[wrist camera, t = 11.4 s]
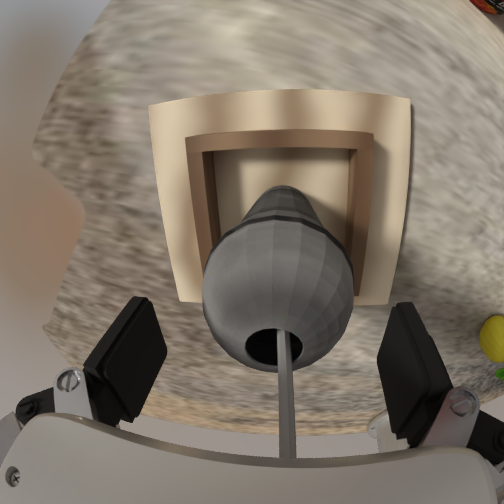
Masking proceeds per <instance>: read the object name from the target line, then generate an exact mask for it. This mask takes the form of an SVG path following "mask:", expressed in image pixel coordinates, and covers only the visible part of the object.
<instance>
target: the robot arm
mask: <svg viewBox="0 0 504 504" xmlns="http://www.w3.org/2000/svg"><path fill="white" fill-rule="evenodd" d="M166 356H167V347H166V344H165V341H164V338H163V335H162V332H161V329H160V326H159V323H158V320H157V317H156V314H155V311H154V307H153V304H152V302H151V301H149V300H148V298H146V297H137V296H134V297H132V298H131V300H130V301H129V302H128V303H127V305H126V306H125V307H124V309H123V310H122V311H121V313H120V314H119V315H118V317H117V318H116V319H115V321H114V322H113V323H112V325H111V326H110V327H109V329H108V330H107V331H106V333H105V334H104V336H103V337H102V338H101V340H100V341H99V343H98V344H97V345H96V347H95V348H94V350H93V351H92V352H91V354H90V355H89V357H88V358H87V360H86V361H85V363H84V364H83V366H84V369H83V370H81V369H79V368H77V367H68V368H66V369H63V370H62V371H60V372H59V373H58V374H57V376H56V377H55V380H54V384H53V387H52V388H49V389H46V390H43V391H41V392H38V393H35V394H32V395H30V396H27V397H25V398H23V399H22V400H21V401H20V402H19V403H18V405H17V407H16V413H14V412H11V413H10V414H8V415H7V416H5V417H4V418H3V419H1V420H0V504H504V422H502V421H500V420H498V419H496V418H494V417H492V416H491V415H489V414H487V413H485V412H483V411H481V410H479V408H480V401H479V398H478V396H477V394H476V393H475V392H474V391H473V390H471V389H470V388H467V387H464V386H458V387H455V388H453V385H452V383H451V380H450V378H449V375H448V373H447V370H446V368H445V366H444V363H443V361H442V359H441V356H440V354H439V352H438V350H437V347H436V345H435V343H434V341H433V339H432V337H431V336H430V335H429V334H428V332H427V330H426V328H425V326H424V324H423V322H422V320H421V318H420V316H419V314H418V312H417V310H416V308H415V306H414V304H413V303H412V302H401V303H397V305H396V307H393V308H392V310H391V313H390V317H389V320H388V324H387V327H386V330H385V334H384V337H383V340H382V343H381V346H380V349H379V352H378V355H377V366H378V370H379V374H380V378H381V383H382V387H383V392H384V396H385V401H386V406H387V411H385V412H383V413H381V414H379V415H378V416H377V417H375V418H374V419H373V420H372V421H371V422H370V423H369V425H368V427H367V430H368V434H369V435H370V436H371V437H373V438H377V441H378V449H379V453H377V454H368V455H358V456H348V457H332V458H272V457H257V456H246V455H237V454H228V453H221V452H214V451H208V450H202V449H197V448H191V447H186V446H181V445H177V444H172V443H168V442H164V441H160V440H156V439H152V438H148V437H145V436H141V435H138V434H135V433H131V432H128V431H125V430H121V429H120V426H119V421H120V420H124V421H127V422H130V423H133V420H134V418H135V417H138V416H139V414H140V412H141V410H142V408H143V405H144V403H145V401H146V399H147V397H148V394H149V392H150V390H151V388H152V386H153V384H154V381H155V379H156V377H157V375H158V373H159V371H160V369H161V366H162V364H163V362H164V360H165V358H166Z"/></svg>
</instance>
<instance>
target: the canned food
mask: <svg viewBox="0 0 504 504" xmlns="http://www.w3.org/2000/svg"><path fill="white" fill-rule="evenodd" d="M470 1H471V2H472V3H474V4H475V5H476V6H477V7H479V8H480V9H482V10H483V11H485V12H487V13H490V14H496V15H501V14H504V0H470Z"/></svg>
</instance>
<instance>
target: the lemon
mask: <svg viewBox="0 0 504 504" xmlns="http://www.w3.org/2000/svg"><path fill="white" fill-rule="evenodd" d="M479 344H480V347H481V349H482V351H483V352H484V354H485V355H486V356H487V357H488V358H489V359H490V360H491V361H493V362H497V363H502V362H504V316H500V315H496V316H493V317H491V318H490V319H487V320H486V322H485V323H484V325H483V326H482V328H481V330H480V333H479ZM496 377H498V378H499V379H501V380H504V368H501V369H499V370H497V371H496Z"/></svg>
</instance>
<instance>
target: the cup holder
mask: <svg viewBox="0 0 504 504" xmlns="http://www.w3.org/2000/svg"><path fill="white" fill-rule="evenodd" d="M148 107H149V119H150V130H151V139H152V148H153V156H154V164H155V172H156V179H157V186H158V192H159V199H160V205H161V211H162V217H163V223H164V228H165V234H166V239H167V244H168V249H169V254H170V259H171V264H172V268H173V273H174V278H175V282H176V286H177V291H178V295H179V299H180V301H183V302H199V303H203V301H202V283H203V279H204V268H205V265H206V262H207V259H208V257H209V254H210V251H211V249H212V248H213V247H214V245H215V244H216V243H217V242H218V241H219V240H220V239H221V237H222V236H223V235H224V234H225V233H226V232H227V231H229V230H231V229H233V228H234V227H235V226H236V225H238V224H239V223H240V222H241V221H242V220H243V218H244V217H245V215H246V214H247V213H248V211H249V210H250V209H251V207H252V206H253V205H254V203H255V202H256V201H257V199H258V198H259V197H260V196H261V195H262V194H263V193H264V192H265V191H266V190H268V189H270V188H272V187H274V186H279V185H286V186H291V187H294V188H296V189H298V190H299V191H300V192H301V193H302V194H304V196H305V197H306V198H307V199H308V201H309V202H310V204H311V206H312V207H313V209H314V211H315V213H316V214H317V216H318V218H319V220H320V221H321V223H322V225H323V227H324V228H325V229H327V230H328V231H329V232H330V233H331V234H332V235H333V236H334V237H335V238H336V239H337V240H338V241H339V242H340V243H341V244H342V245H343V246H344V248H345V250H346V252H347V254H348V256H349V258H350V260H351V262H352V265H353V273H354V306H355V305H387V304H388V300H389V296H390V292H391V288H392V283H393V279H394V274H395V269H396V264H397V259H398V254H399V248H400V242H401V236H402V230H403V223H404V216H405V208H406V199H407V189H408V177H409V162H410V135H411V112H410V99H407V98H401V97H395V96H388V95H381V94H372V93H363V92H352V91H337V90H311V89H285V90H259V91H244V92H232V93H223V94H214V95H206V96H199V97H192V98H186V99H180V100H175V101H169V102H164V103H159V104H154V105H150V106H148Z"/></svg>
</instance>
